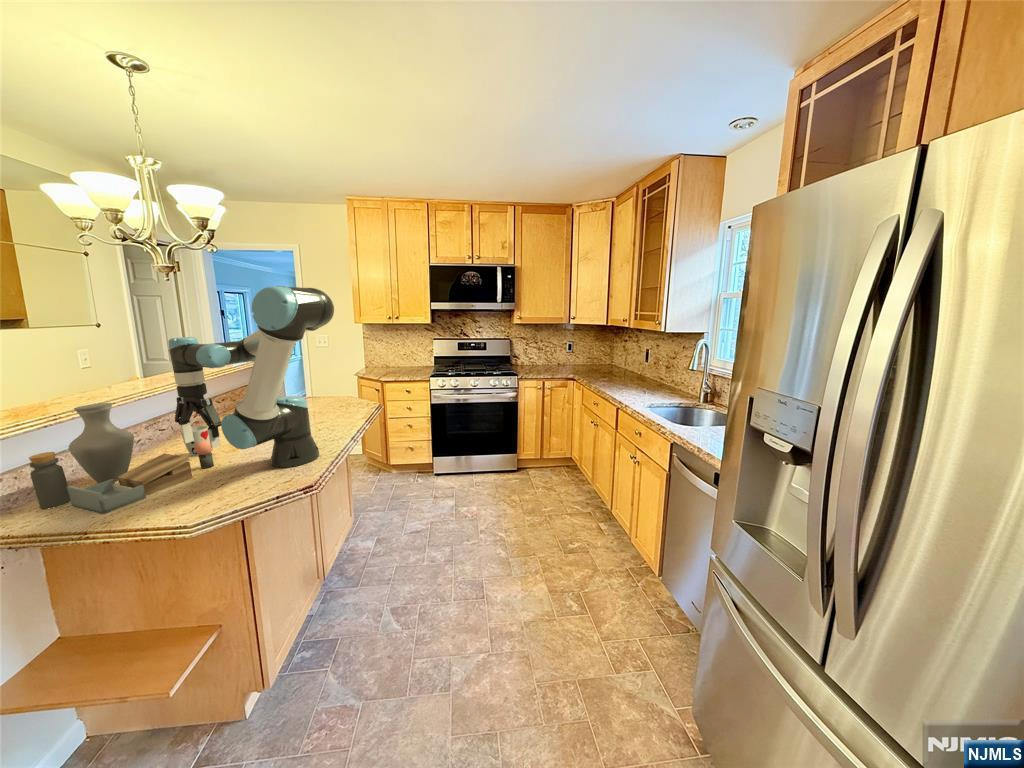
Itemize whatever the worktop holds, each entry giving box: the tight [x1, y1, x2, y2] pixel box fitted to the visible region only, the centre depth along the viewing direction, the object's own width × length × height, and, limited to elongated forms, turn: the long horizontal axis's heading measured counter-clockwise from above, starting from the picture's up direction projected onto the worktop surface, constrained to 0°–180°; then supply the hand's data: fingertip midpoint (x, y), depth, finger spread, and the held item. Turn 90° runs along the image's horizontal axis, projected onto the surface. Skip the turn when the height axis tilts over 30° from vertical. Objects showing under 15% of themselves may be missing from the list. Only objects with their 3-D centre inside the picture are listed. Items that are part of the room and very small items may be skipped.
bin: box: [67, 479, 147, 515], centre depth 109 cm, size 15×10×6 cm, turn 71°
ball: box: [195, 441, 214, 455], centre depth 131 cm, size 5×5×5 cm
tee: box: [197, 452, 215, 470], centre depth 132 cm, size 4×4×5 cm
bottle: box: [28, 451, 71, 510], centre depth 107 cm, size 6×6×15 cm
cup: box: [180, 425, 210, 457], centre depth 145 cm, size 8×8×10 cm
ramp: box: [117, 453, 194, 497], centre depth 119 cm, size 12×13×7 cm
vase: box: [68, 402, 135, 484], centre depth 122 cm, size 14×14×25 cm
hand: (202, 444), depth 131 cm, fingers open, 13 cm apart
